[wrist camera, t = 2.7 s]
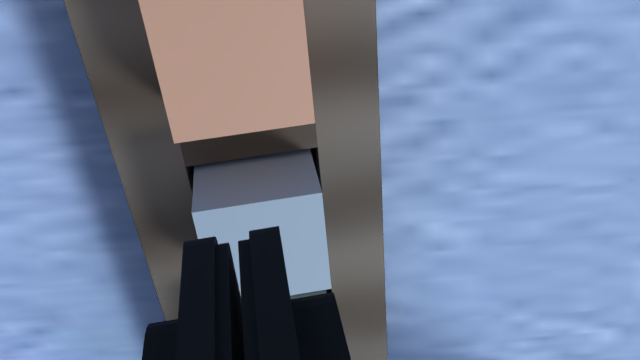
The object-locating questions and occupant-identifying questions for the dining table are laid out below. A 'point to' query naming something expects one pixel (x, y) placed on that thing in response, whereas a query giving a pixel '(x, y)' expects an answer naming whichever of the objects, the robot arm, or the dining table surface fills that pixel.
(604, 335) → the dining table surface
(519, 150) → the dining table surface
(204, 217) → the slate button
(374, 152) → the console
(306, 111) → the terracotta button
